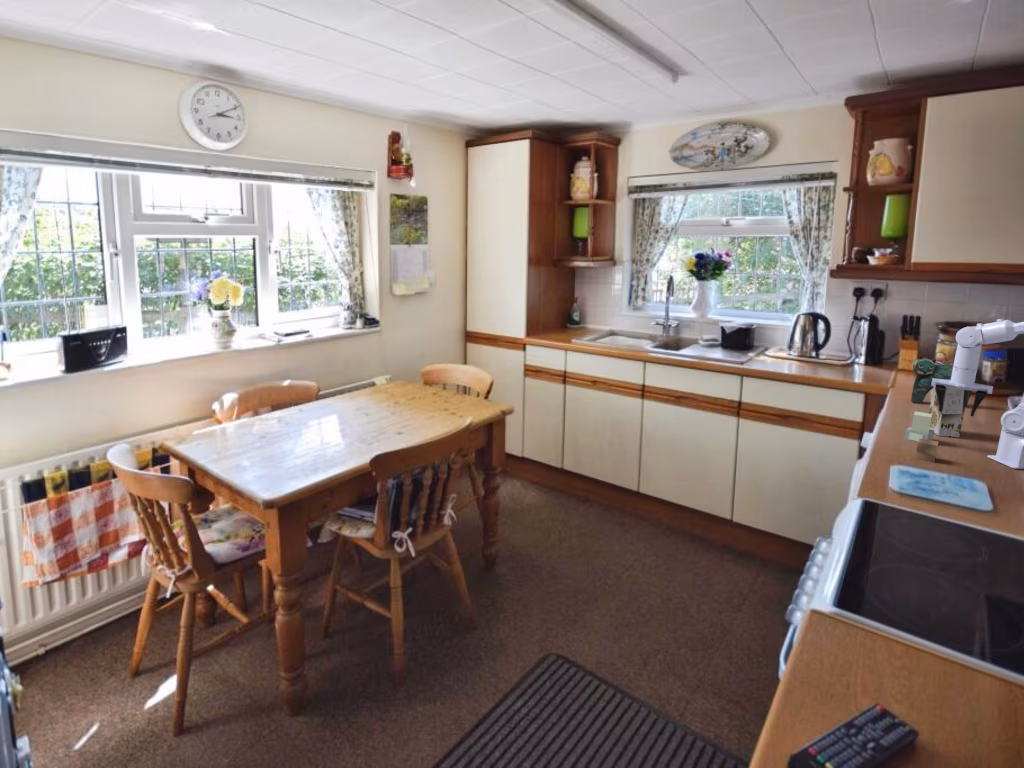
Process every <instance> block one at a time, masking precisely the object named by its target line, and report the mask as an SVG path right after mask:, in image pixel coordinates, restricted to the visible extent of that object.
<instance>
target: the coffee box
mask: <svg viewBox="0 0 1024 768" xmlns="http://www.w3.org/2000/svg"><path fill="white" fill-rule="evenodd" d="M935 387H936V386H934V387H933V389H932V393H931V401H930V406H929V412H928V414H932V418H931V424H930V429H931V430H934V434H935V435H937V436H939V437H949V436H951V437H950V438H952V437H953V438H960V436H961V431H962V430H961V429H962V425H963V420H964V416H965V410H966V407H965V406H966V401H967V396H968V391H969V390H963V389H956V388H949V387H946V390H945V395H944V400H943V409H942V411H939V401H938V397H937V393H936V391H935ZM956 387H957V386H956Z"/></svg>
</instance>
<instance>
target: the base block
mask: <svg viewBox="0 0 1024 768" xmlns="http://www.w3.org/2000/svg"><path fill="white" fill-rule="evenodd" d="M911 428H912V425H911V426H909V427H907V428H906V429H905V432H904V437H903V440H905V439H908V440H907V441H909V440H913V441H912V442H914V441H917V442H916V443H918V441H919V439H920V438H921V439H926V440H932V441H934V440H933V439H934V434H935V433H934V430H931V429H929V433H924V432H918V431H912V430H911Z"/></svg>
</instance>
